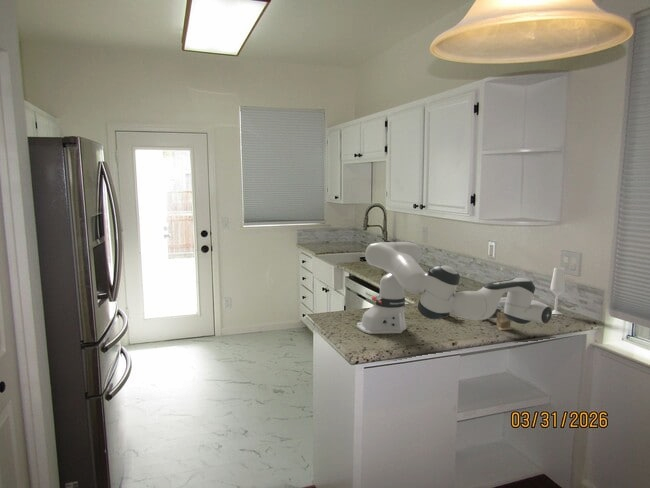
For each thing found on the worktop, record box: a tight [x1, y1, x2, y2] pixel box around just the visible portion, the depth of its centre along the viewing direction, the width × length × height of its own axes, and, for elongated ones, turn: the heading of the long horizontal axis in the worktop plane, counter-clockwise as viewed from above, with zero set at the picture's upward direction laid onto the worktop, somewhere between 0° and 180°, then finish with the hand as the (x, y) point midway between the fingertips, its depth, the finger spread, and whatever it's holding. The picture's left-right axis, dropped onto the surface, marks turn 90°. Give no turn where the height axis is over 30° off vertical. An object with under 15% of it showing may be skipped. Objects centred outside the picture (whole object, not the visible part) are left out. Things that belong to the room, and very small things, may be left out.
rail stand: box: [492, 310, 514, 331], centre depth 213 cm, size 25×7×7 cm, turn 18°
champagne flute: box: [549, 266, 566, 314], centre depth 229 cm, size 7×7×24 cm
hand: (497, 298), depth 209 cm, fingers closed, pressing on slider
